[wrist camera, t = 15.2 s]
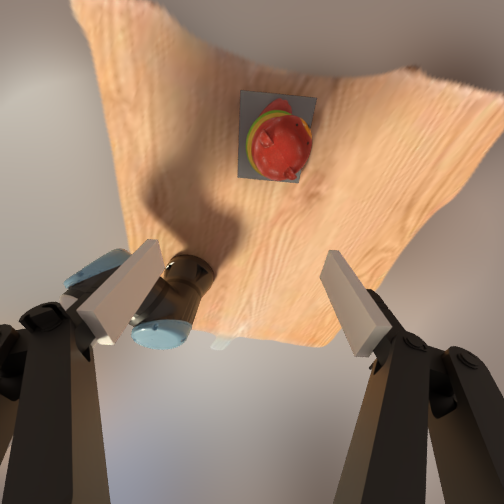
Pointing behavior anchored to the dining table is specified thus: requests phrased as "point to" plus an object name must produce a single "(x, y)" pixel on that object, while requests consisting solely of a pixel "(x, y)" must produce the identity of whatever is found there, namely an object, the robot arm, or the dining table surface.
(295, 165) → the stacking bear
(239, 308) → the dining table surface
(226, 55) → the dining table surface
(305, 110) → the grey block
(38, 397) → the robot arm
